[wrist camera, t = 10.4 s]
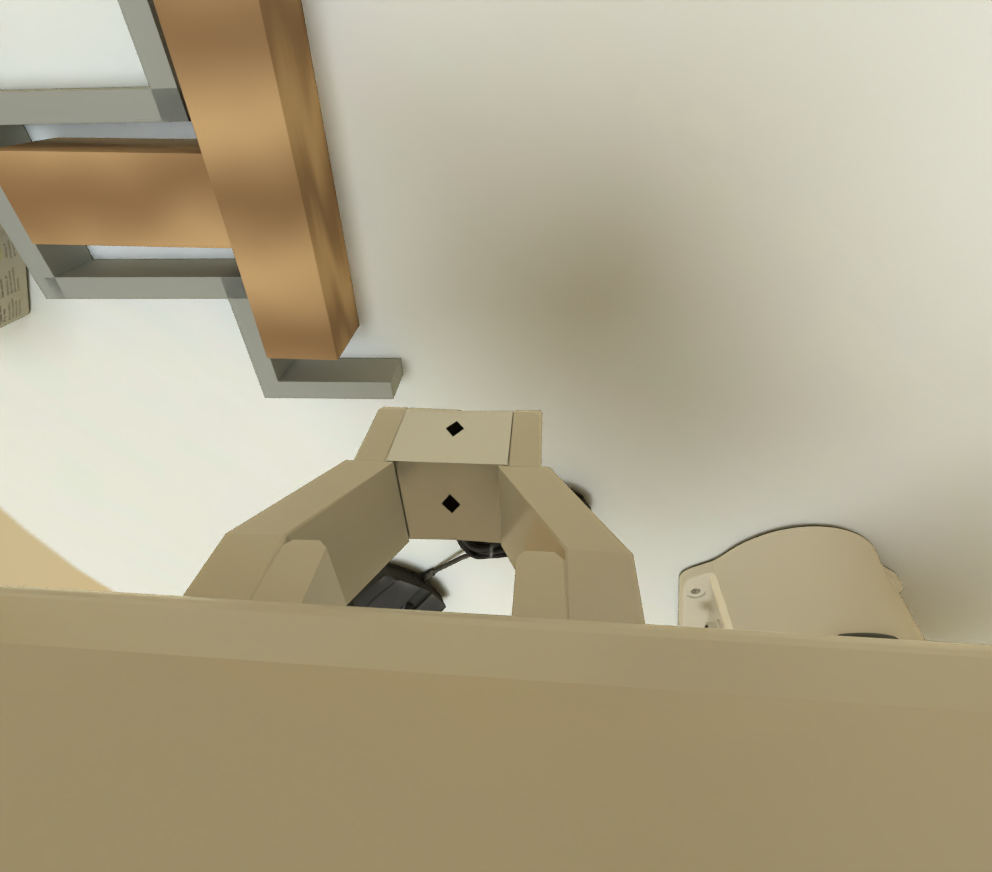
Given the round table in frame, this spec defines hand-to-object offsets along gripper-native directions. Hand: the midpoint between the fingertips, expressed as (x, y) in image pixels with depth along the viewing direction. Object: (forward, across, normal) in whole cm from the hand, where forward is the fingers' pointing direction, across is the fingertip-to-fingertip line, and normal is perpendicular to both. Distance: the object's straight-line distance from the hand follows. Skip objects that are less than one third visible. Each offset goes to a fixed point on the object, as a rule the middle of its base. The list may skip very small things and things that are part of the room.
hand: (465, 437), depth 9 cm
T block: (+20, +16, -1) cm, 26 cm away
